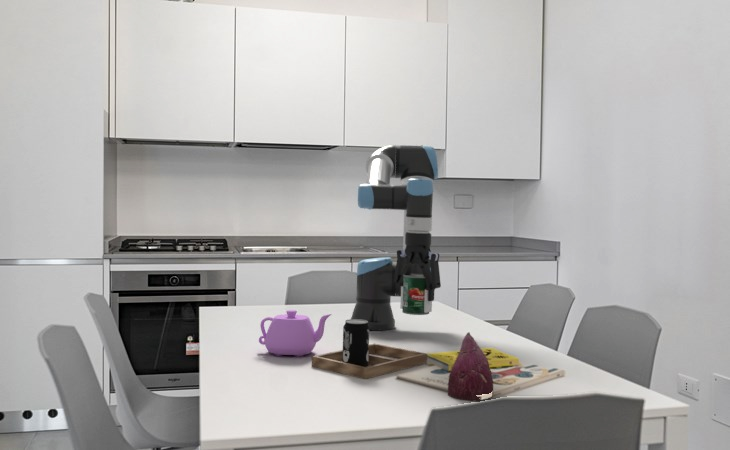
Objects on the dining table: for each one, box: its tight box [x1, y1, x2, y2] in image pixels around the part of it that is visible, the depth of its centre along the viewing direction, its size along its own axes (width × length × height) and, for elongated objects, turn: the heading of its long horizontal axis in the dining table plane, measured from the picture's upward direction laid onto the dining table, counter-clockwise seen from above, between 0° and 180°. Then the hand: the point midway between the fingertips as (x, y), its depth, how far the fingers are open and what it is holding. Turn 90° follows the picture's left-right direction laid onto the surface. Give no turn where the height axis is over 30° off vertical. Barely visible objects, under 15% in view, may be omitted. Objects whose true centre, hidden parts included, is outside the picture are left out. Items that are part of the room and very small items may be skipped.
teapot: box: [258, 309, 333, 357], centre depth 196 cm, size 20×13×12 cm, turn 87°
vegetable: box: [447, 331, 494, 402], centre depth 159 cm, size 10×10×15 cm
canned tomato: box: [401, 274, 430, 316], centre depth 208 cm, size 8×8×11 cm
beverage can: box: [341, 318, 370, 367], centre depth 180 cm, size 7×7×12 cm
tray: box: [311, 343, 428, 380], centre depth 185 cm, size 18×25×2 cm
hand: (415, 309), depth 208 cm, fingers closed on canned tomato, 8 cm apart
